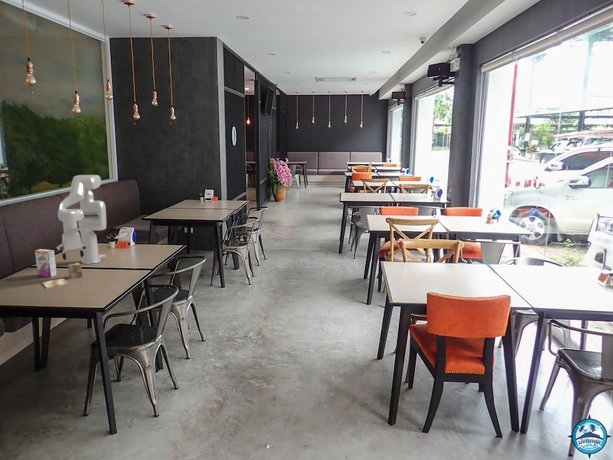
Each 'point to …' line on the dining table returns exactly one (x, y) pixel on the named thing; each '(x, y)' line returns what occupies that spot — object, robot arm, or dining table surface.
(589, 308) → the dining table surface
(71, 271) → the walnut block
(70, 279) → the tile
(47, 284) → the cork pad
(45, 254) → the candy bar box
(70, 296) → the dining table surface
